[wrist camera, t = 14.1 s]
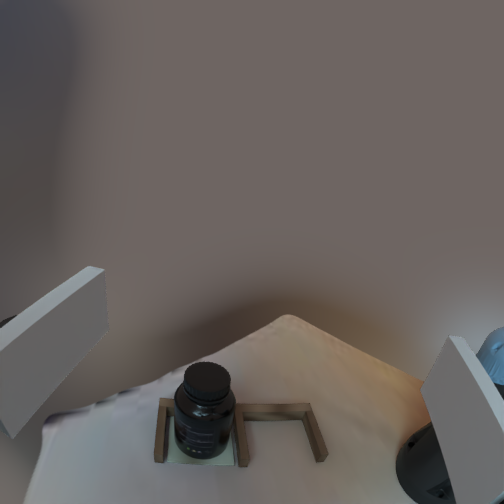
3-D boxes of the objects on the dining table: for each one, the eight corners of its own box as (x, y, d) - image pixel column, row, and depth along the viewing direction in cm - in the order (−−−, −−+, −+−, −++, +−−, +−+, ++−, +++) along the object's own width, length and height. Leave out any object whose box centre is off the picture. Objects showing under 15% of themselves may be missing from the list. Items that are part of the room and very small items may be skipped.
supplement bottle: (183, 415, 38) (187, 348, 34) (232, 428, 37) (247, 363, 33) (166, 452, 31) (164, 386, 27) (220, 468, 31) (234, 406, 27)
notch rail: (305, 412, 42) (309, 403, 41) (323, 461, 33) (328, 453, 33) (160, 407, 38) (159, 397, 38) (154, 462, 29) (153, 453, 29)
